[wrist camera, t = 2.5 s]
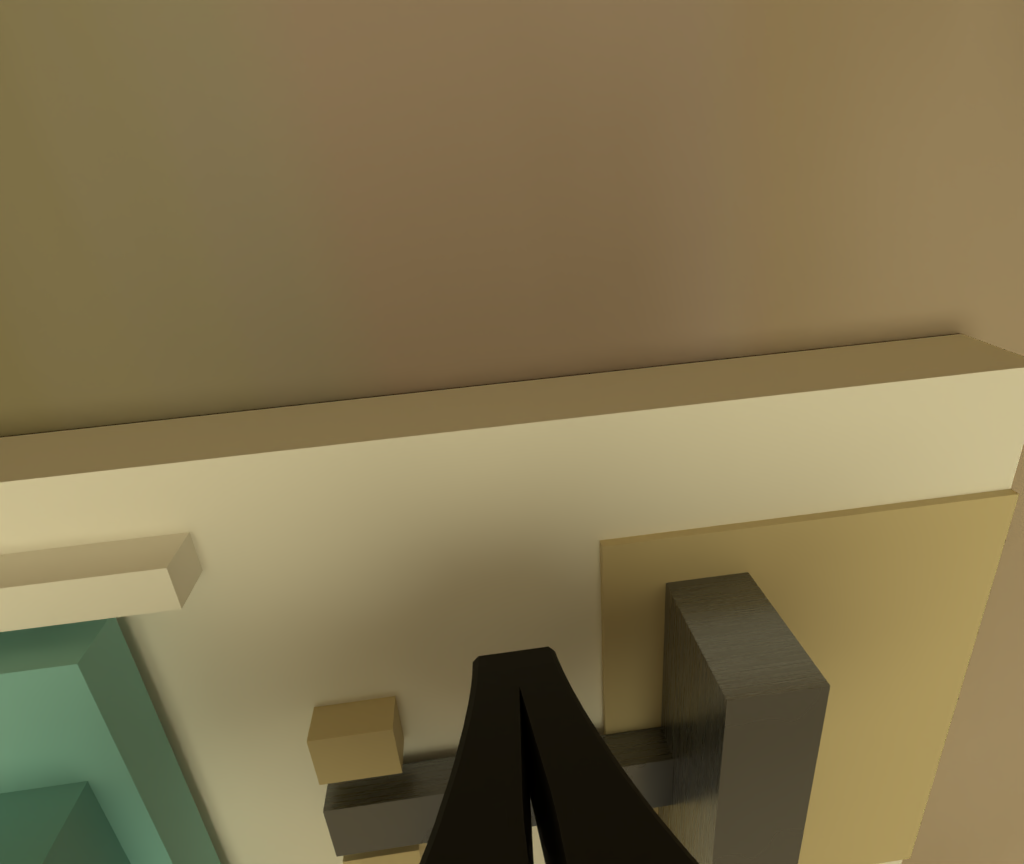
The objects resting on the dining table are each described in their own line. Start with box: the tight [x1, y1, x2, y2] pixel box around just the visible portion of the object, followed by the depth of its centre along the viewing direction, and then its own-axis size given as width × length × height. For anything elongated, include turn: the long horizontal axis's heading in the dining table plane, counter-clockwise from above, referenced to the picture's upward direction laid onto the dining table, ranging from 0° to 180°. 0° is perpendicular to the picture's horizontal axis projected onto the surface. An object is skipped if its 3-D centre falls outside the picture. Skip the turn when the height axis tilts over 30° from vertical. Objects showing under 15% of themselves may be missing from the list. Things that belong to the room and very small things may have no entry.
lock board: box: [0, 334, 1024, 864], centre depth 14 cm, size 16×26×3 cm, turn 94°
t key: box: [323, 572, 830, 864], centre depth 12 cm, size 9×9×3 cm
